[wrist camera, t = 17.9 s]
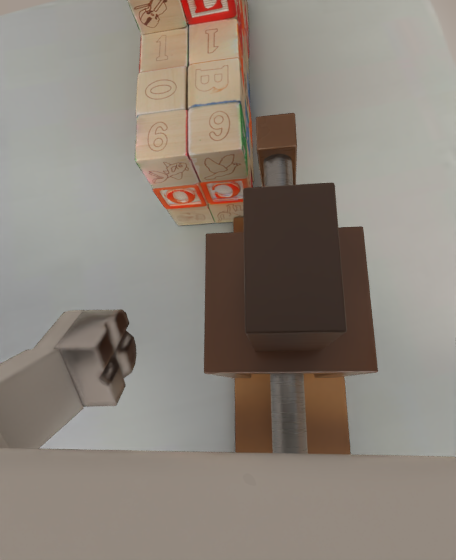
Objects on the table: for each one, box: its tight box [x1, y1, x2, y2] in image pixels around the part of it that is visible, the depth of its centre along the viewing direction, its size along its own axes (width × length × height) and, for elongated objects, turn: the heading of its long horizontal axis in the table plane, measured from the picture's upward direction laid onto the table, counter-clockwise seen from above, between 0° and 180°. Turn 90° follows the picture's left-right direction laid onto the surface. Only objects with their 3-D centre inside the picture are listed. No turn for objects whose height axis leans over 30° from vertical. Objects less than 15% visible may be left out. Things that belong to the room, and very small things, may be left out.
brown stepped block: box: [204, 183, 378, 378], centre depth 15 cm, size 6×5×14 cm
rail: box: [233, 113, 351, 455], centre depth 20 cm, size 18×7×14 cm, turn 0°
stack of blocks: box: [127, 0, 254, 226], centre depth 27 cm, size 21×6×12 cm, turn 1°
